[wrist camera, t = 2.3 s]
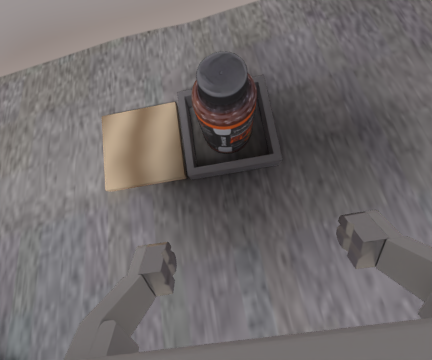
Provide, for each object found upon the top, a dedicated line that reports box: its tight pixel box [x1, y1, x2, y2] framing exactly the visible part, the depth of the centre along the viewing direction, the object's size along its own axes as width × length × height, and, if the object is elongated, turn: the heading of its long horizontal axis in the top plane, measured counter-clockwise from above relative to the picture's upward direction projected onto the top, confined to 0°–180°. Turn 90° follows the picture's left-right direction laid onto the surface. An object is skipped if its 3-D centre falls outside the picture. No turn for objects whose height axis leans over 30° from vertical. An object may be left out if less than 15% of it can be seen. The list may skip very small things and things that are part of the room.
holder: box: [177, 75, 283, 180], centre depth 26 cm, size 11×11×2 cm
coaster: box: [102, 102, 187, 192], centre depth 28 cm, size 10×10×1 cm
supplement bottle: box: [192, 51, 257, 153], centre depth 22 cm, size 6×6×11 cm
